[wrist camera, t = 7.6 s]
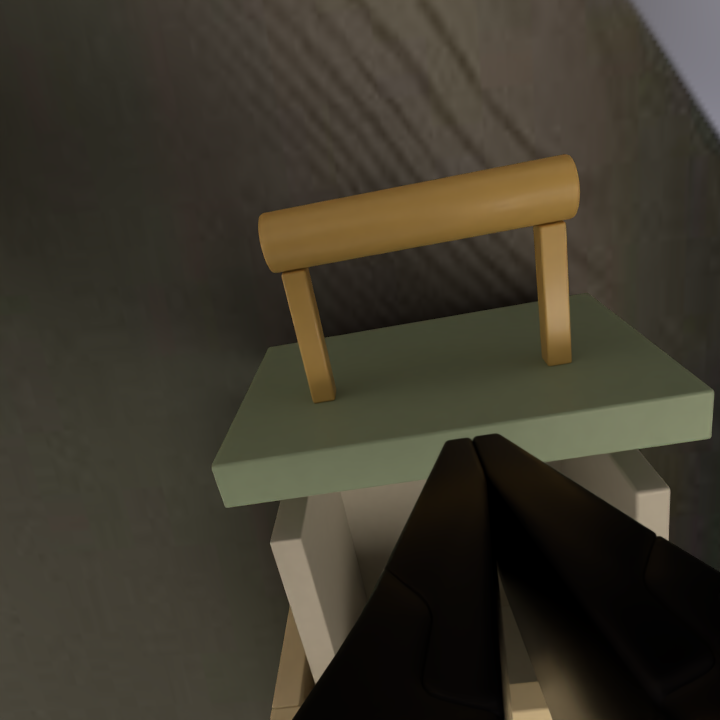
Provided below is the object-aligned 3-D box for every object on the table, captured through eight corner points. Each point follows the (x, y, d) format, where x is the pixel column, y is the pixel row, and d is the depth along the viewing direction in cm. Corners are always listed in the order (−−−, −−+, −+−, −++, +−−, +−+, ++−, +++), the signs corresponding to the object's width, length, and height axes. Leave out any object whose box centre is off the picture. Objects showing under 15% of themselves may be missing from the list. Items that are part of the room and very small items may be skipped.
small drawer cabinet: (305, 514, 23) (265, 737, 14) (600, 473, 22) (743, 689, 13) (366, 731, 28) (363, 985, 20) (606, 707, 27) (709, 966, 19)
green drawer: (228, 203, 17) (134, 253, 10) (583, 133, 16) (734, 136, 9) (342, 617, 24) (329, 809, 17) (596, 586, 23) (688, 777, 16)
